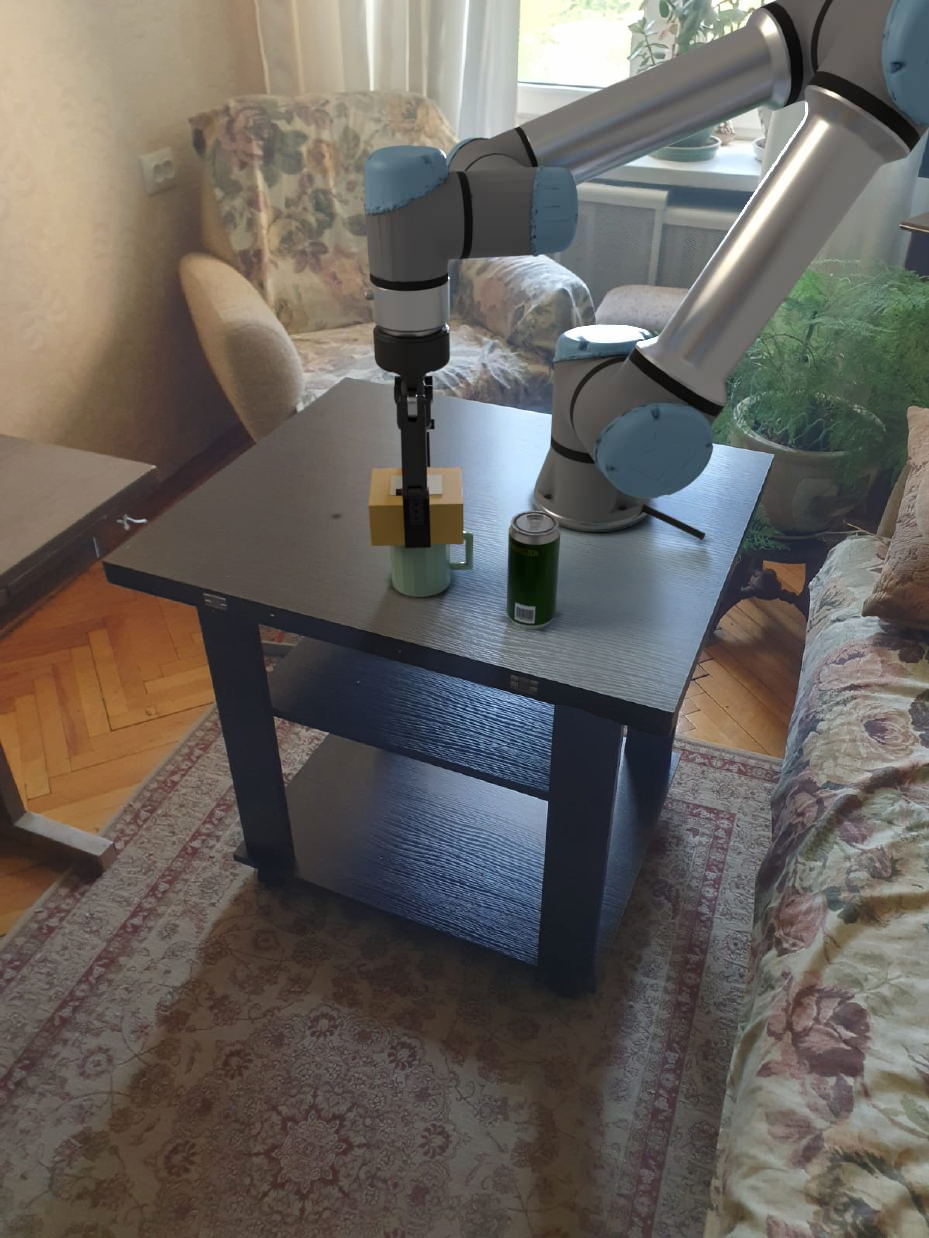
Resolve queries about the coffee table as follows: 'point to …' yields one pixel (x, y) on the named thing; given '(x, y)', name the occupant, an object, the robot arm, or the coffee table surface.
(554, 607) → the beer can
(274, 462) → the coffee table surface
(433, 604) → the coffee table surface
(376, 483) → the tea packet
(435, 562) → the cup
